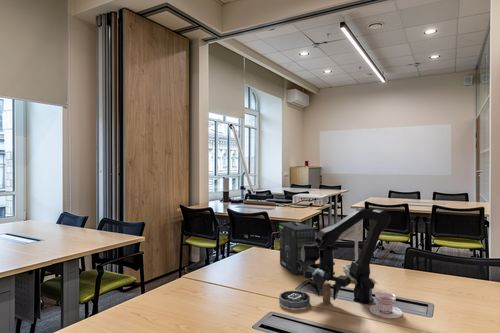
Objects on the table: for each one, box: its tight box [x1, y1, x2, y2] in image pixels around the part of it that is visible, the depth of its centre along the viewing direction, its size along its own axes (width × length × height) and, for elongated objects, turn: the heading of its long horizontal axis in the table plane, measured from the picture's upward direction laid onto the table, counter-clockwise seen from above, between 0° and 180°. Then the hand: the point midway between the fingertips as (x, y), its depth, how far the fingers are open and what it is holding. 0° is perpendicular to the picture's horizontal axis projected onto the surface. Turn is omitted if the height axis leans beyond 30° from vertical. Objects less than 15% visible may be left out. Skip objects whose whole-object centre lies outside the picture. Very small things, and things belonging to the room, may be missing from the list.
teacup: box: [369, 291, 403, 319], centre depth 132 cm, size 12×12×6 cm
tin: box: [278, 290, 311, 311], centre depth 140 cm, size 12×12×3 cm
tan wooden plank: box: [322, 281, 331, 305], centre depth 141 cm, size 2×3×8 cm, turn 140°
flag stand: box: [342, 221, 360, 282], centre depth 170 cm, size 13×13×30 cm
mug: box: [308, 263, 323, 289], centre depth 158 cm, size 8×12×10 cm
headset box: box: [278, 221, 317, 276], centre depth 187 cm, size 22×12×26 cm, turn 17°
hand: (326, 297), depth 141 cm, fingers open, 7 cm apart
